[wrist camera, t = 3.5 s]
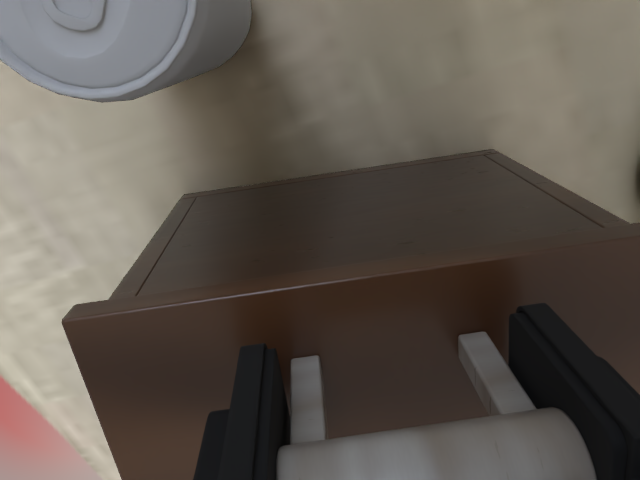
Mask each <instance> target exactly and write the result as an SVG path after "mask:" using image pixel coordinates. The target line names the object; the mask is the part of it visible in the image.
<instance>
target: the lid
mask: <svg viewBox="0 0 640 480" xmlns="http://www.w3.org/2000/svg"><path fill="white" fill-rule="evenodd" d="M537 303H546V304H547V305H548V306H549V307H550V308H551V309H552V310H553V311H554V312H555V313H556V314H557V315H558V316H559V317H560V318H561V319H562V320H563V321H564V322H565V323H566V324H567V325H568V326H569V327H570V328H571V330H572V331H573V332H574V333H575V334H576V335H577V336H578V337H579V338H580V339H581V340H582V341H583V342H584V343H585V344H586V345H587V346H588V347H589V348H590V349H591V350H592V351H593V352H594V353H595V355H596V356H599V357H602V358H603V359H605V360H606V361H607V362H608V363H609V364H610V365H611V366H612V367H613V368H614V369H615V370H616V371H617V372H618V373H619V374H620V375H621V376H622V377H623V378H624V379H625V380H626V381H627V382H628V383H629V384H630V385H631V386H632V387H633V388H634V390H635V391H636V392H637V393H638V394H639V395H640V223H633V224H626V225H619V226H613V227H606V228H599V229H592V230H585V231H578V232H571V233H564V234H558V235H551V236H544V237H537V238H530V239H523V240H516V241H509V242H503V243H496V244H489V245H482V246H475V247H468V248H461V249H454V250H448V251H441V252H434V253H427V254H420V255H413V256H406V257H399V258H393V259H386V260H379V261H372V262H365V263H358V264H351V265H344V266H338V267H331V268H324V269H317V270H310V271H303V272H296V273H289V274H282V275H276V276H269V277H262V278H255V279H248V280H241V281H234V282H227V283H221V284H214V285H207V286H200V287H193V288H186V289H179V290H172V291H166V292H159V293H152V294H145V295H138V296H131V297H124V298H117V299H111V300H104V301H97V302H90V303H83V304H76V305H74V306H73V307H72V309H71V310H70V311H69V312H68V313H67V315H66V316H65V317H64V318H63V319H62V325H63V327H64V330H65V333H66V335H67V338H68V341H69V343H70V346H71V348H72V351H73V354H74V356H75V359H76V361H77V364H78V367H79V369H80V372H81V374H82V377H83V380H84V382H85V385H86V388H87V390H88V393H89V395H90V398H91V401H92V403H93V406H94V408H95V411H96V414H97V416H98V419H99V421H100V424H101V427H102V429H103V432H104V434H105V437H106V440H107V442H108V445H109V448H110V450H111V453H112V455H113V458H114V461H115V463H116V466H117V468H118V471H119V474H120V476H121V479H122V480H193V478H194V474H195V469H196V465H197V460H198V456H199V452H200V447H201V443H202V438H203V434H204V430H205V425H206V421H207V417H208V414H209V413H210V412H211V411H218V410H225V409H230V403H231V398H232V392H233V386H234V380H235V375H236V369H237V363H238V357H239V351H240V347H241V346H247V345H254V344H261V343H266V345H267V348H268V349H272V348H276V351H277V355H278V360H279V365H280V370H281V375H282V380H283V385H284V390H285V395H286V400H287V405H288V410H289V414H290V445H284V446H282V447H280V448H279V449H278V452H277V458H276V480H597V477H596V473H595V469H594V465H593V462H592V459H591V456H590V453H589V451H588V448H587V446H586V444H585V441H584V439H583V437H582V435H581V433H580V432H579V430H578V428H577V427H576V425H575V424H574V422H573V421H572V420H571V418H570V417H569V416H568V415H567V414H566V413H565V412H564V411H562V410H561V409H558V408H554V407H548V408H541V409H536V407H535V406H534V404H533V403H532V401H531V400H530V398H529V397H528V395H527V394H526V392H525V391H524V389H523V388H522V386H521V384H520V383H519V381H518V380H517V378H516V377H515V375H514V374H513V372H512V371H511V369H510V368H509V366H508V356H509V316H510V314H514V313H516V310H517V307H519V306H524V305H531V304H537Z"/></svg>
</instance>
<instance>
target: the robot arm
mask: <svg viewBox="0 0 640 480" xmlns="http://www.w3.org/2000/svg"><path fill="white" fill-rule="evenodd" d="M508 366H509V368H510V369H511V371H512V372H513V374H514V375H515V377H516V378H517V380H518V381H519V383H520V384H521V386H522V388H523V389H524V391H525V392H526V394H527V395H528V397H529V398H530V400H531V401H532V403H533V404H534V406H535V407H536V409H541V408H548V407H554V408H558V409H561V410H562V411H564V412H565V413H566V414H567V415H568V416H569V417H570V418H571V420H572V421H573V422H574V424H575V425H576V427H577V428H578V430H579V432H580V433H581V435H582V437H583V439H584V441H585V444H586V446H587V448H588V451H589V453H590V456H591V459H592V462H593V465H594V469H595V473H596V477H597V480H640V395H639V394H638V393H637V392H636V391H635V390H634V388H633V387H632V386H631V385H630V384H629V383H628V382H627V381H626V380H625V379H624V378H623V377H622V376H621V375H620V374H619V373H618V372H617V371H616V370H615V369H614V368H613V367H612V366H611V365H610V364H609V363H608V362H607V361H606V360H605V359H603V358H602V357H599V356H596V355H595V353H594V352H593V351H592V350H591V349H590V348H589V347H588V346H587V345H586V344H585V343H584V342H583V341H582V340H581V339H580V338H579V337H578V336H577V335H576V334H575V333H574V332H573V331H572V330H571V328H570V327H569V326H568V325H567V324H566V323H565V322H564V321H563V320H562V319H561V318H560V317H559V316H558V315H557V314H556V313H555V312H554V311H553V310H552V309H551V308H550V307H549V306H548V305H547V304H546V303H537V304H531V305H524V306H519V307H517V310H516V313H514V314H510V316H509V356H508ZM284 445H290V414H289V410H288V405H287V400H286V395H285V390H284V385H283V380H282V375H281V370H280V365H279V360H278V355H277V351H276V348H272V349H268V348H267V345H266V343H261V344H254V345H247V346H241V347H240V351H239V357H238V363H237V369H236V375H235V380H234V386H233V392H232V398H231V403H230V409H225V410H218V411H211V412H210V413H209V414H208V417H207V421H206V425H205V430H204V434H203V438H202V443H201V447H200V452H199V456H198V460H197V465H196V469H195V474H194V478H193V480H276V458H277V452H278V449H279V448H280V447H282V446H284Z"/></svg>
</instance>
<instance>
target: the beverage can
mask: <svg viewBox="0 0 640 480" xmlns="http://www.w3.org/2000/svg"><path fill="white" fill-rule="evenodd" d="M251 15H252V11H251V2H250V0H0V60H1V61H2V62H4V63H5V64H6V65H8V66H9V67H11V68H12V69H13V70H15V71H16V72H17V73H19V74H20V75H21V76H23V77H24V78H25V79H27V80H28V81H30V82H32V83H34V84H37V85H39V86H41V87H43V88H46V89H48V90H50V91H52V92H55V93H57V94H60V95H66V96H70V97H74V98H80V99H86V100H91V101H97V102H113V101H125V100H134V99H136V98H139V97H142V96H144V95H147V94H150V93H153V92H155V91H158V90H161V89H163V88H166V87H169V86H172V85H174V84H177V83H180V82H182V81H185V80H188V79H190V78H193V77H195V76H198V75H200V74H203V73H205V72H207V71H209V70H212V69H214V68H216V67H219V66H221V65H222V64H223V63H225V62H226V61H227V60H229V59H230V58H231V57H232V56H233V55H234V54H235V53H236V52H237V50H238V49H239V48H240V47H241V46H242V44H243V42H244V40H245V38H246V36H247V34H248V32H249V29H250V22H251Z"/></svg>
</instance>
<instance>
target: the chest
mask: <svg viewBox="0 0 640 480" xmlns="http://www.w3.org/2000/svg"><path fill="white" fill-rule="evenodd" d="M626 224H630V223H628V222H626V221H624V220H623V219H621V218H619V217H617V216H615V215H613V214H612V213H610V212H608V211H606V210H604V209H602V208H601V207H599V206H597V205H595V204H593V203H591V202H590V201H588V200H586V199H584V198H582V197H580V196H579V195H577V194H575V193H573V192H571V191H569V190H568V189H566V188H564V187H562V186H560V185H558V184H557V183H555V182H553V181H551V180H549V179H547V178H546V177H544V176H542V175H540V174H538V173H536V172H535V171H533V170H531V169H529V168H527V167H525V166H524V165H522V164H520V163H518V162H516V161H514V160H512V159H511V158H509V157H507V156H505V155H503V154H501V153H500V152H498V151H496V150H494V149H492V150H485V151H478V152H471V153H464V154H458V155H451V156H444V157H437V158H430V159H423V160H417V161H410V162H403V163H396V164H389V165H382V166H376V167H369V168H362V169H355V170H348V171H341V172H335V173H328V174H321V175H314V176H307V177H300V178H294V179H287V180H280V181H273V182H266V183H259V184H253V185H246V186H239V187H232V188H225V189H218V190H212V191H205V192H198V193H191V194H184V195H183V196H182V198H181V199H180V200H179V201H178V203H177V204H176V206H175V207H174V208H173V210H172V211H171V213H170V214H169V215H168V217H167V218H166V220H165V221H164V222H163V224H162V225H161V227H160V228H159V229H158V231H157V232H156V234H155V235H154V236H153V238H152V239H151V241H150V242H149V243H148V245H147V246H146V248H145V249H144V250H143V252H142V253H141V255H140V256H139V257H138V259H137V260H136V262H135V263H134V264H133V266H132V267H131V269H130V270H129V271H128V273H127V274H126V276H125V277H124V278H123V280H122V281H121V283H120V284H119V285H118V287H117V288H116V290H115V291H114V292H113V294H112V295H111V297H110V298H109V299H108V300H111V299H117V298H124V297H131V296H138V295H145V294H152V293H159V292H166V291H172V290H179V289H186V288H193V287H200V286H207V285H214V284H221V283H227V282H234V281H241V280H248V279H255V278H262V277H269V276H276V275H282V274H289V273H296V272H303V271H310V270H317V269H324V268H331V267H338V266H344V265H351V264H358V263H365V262H372V261H379V260H386V259H393V258H399V257H406V256H413V255H420V254H427V253H434V252H441V251H448V250H454V249H461V248H468V247H475V246H482V245H489V244H496V243H503V242H509V241H516V240H523V239H530V238H537V237H544V236H551V235H558V234H564V233H571V232H578V231H585V230H592V229H599V228H606V227H613V226H619V225H626Z"/></svg>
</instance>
